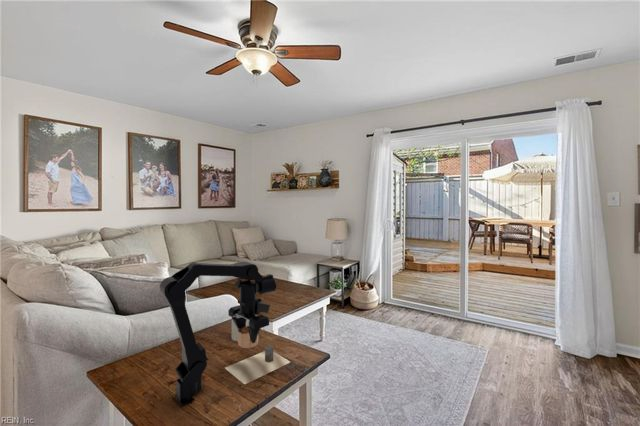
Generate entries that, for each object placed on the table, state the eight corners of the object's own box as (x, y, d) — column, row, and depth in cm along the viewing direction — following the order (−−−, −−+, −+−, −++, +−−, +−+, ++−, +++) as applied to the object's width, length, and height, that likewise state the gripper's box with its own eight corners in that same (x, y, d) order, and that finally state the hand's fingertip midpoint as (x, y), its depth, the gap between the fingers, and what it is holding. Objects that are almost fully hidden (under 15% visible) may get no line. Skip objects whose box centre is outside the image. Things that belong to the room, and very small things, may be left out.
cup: (227, 338, 136) (227, 312, 136) (240, 332, 143) (240, 307, 143) (241, 342, 132) (241, 316, 132) (253, 335, 139) (253, 310, 139)
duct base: (244, 388, 100) (244, 369, 99) (224, 371, 109) (224, 354, 109) (290, 365, 114) (290, 349, 114) (269, 352, 124) (269, 337, 123)
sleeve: (245, 349, 103) (245, 335, 103) (235, 343, 108) (235, 329, 108) (261, 343, 108) (261, 329, 108) (251, 337, 113) (251, 324, 113)
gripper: (281, 298, 107) (281, 340, 107) (253, 287, 120) (253, 325, 120) (255, 305, 99) (255, 351, 99) (227, 293, 112) (227, 334, 113)
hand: (248, 339), depth 108 cm, fingers closed on sleeve, 7 cm apart
